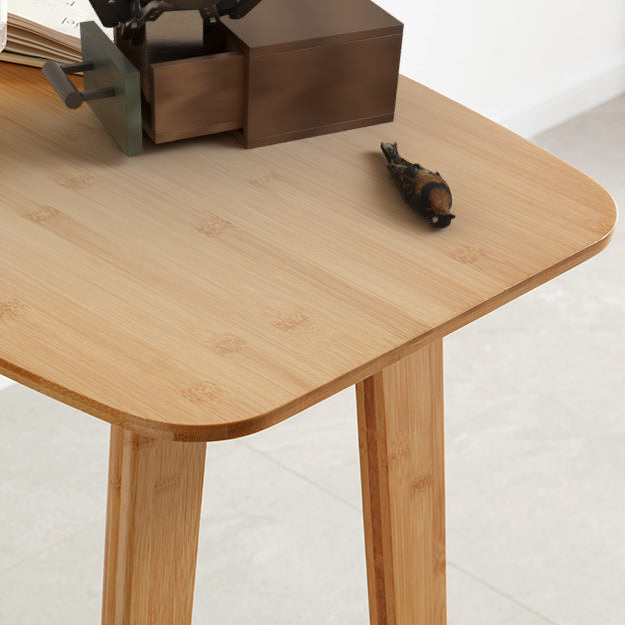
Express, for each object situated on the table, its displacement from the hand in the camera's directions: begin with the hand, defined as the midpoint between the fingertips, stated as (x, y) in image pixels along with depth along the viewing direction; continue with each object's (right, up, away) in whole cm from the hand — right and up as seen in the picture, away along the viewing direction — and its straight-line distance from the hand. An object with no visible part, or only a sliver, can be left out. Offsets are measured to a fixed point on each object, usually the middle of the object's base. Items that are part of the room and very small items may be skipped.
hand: (164, 31), depth 90 cm
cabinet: (+10, -4, +7) cm, 13 cm away
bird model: (+19, -13, -3) cm, 24 cm away
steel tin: (0, -4, +1) cm, 4 cm away
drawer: (-1, -7, +2) cm, 7 cm away
